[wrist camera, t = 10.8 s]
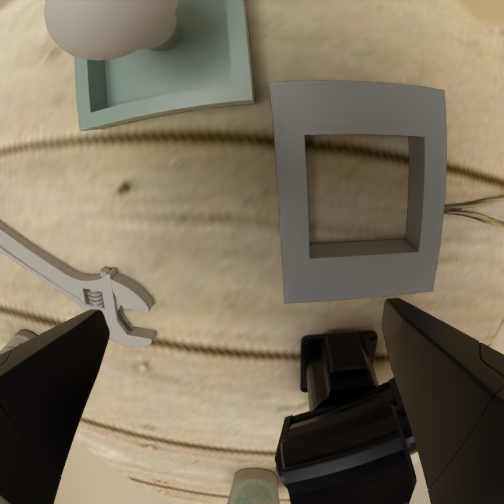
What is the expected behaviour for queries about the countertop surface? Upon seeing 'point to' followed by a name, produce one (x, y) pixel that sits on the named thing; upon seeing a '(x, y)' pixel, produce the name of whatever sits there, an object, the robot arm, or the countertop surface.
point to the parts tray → (172, 70)
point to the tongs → (456, 207)
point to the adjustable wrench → (85, 287)
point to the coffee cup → (254, 487)
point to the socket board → (419, 193)
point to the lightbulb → (112, 26)
